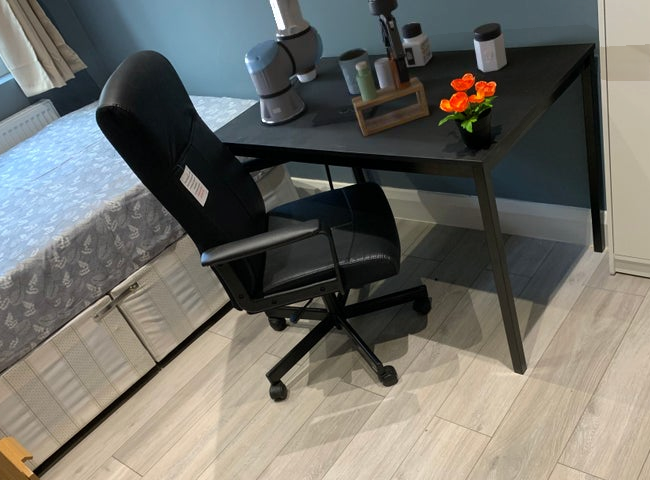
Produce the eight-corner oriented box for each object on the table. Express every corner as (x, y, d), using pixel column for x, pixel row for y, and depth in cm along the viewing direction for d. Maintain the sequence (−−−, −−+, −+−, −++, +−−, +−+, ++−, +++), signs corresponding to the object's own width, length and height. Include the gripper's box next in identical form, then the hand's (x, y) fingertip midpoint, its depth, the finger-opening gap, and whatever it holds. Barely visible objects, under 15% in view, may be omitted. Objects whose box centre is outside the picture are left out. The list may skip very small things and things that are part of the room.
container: (424, 65, 215) (416, 27, 207) (404, 67, 219) (395, 30, 211) (432, 56, 220) (424, 18, 212) (412, 58, 223) (404, 21, 216)
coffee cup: (296, 77, 243) (285, 46, 236) (323, 70, 241) (313, 38, 234) (292, 87, 235) (281, 56, 227) (320, 80, 232) (310, 48, 225)
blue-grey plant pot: (372, 79, 218) (363, 45, 211) (379, 88, 210) (370, 52, 203) (345, 89, 218) (335, 55, 211) (350, 98, 210) (340, 63, 203)
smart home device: (370, 111, 192) (311, 121, 199) (371, 117, 193) (312, 126, 200) (376, 100, 198) (318, 109, 205) (377, 105, 199) (320, 114, 206)
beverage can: (397, 99, 199) (387, 62, 191) (382, 101, 200) (372, 65, 193) (399, 92, 202) (390, 56, 195) (385, 95, 204) (375, 59, 196)
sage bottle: (361, 97, 183) (352, 64, 177) (376, 92, 183) (366, 58, 177) (364, 102, 180) (354, 68, 174) (378, 97, 179) (369, 63, 173)
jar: (476, 74, 197) (470, 35, 190) (480, 63, 203) (474, 26, 195) (505, 69, 193) (500, 30, 186) (508, 59, 199) (503, 20, 192)
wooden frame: (359, 126, 190) (351, 98, 185) (422, 105, 190) (416, 76, 184) (364, 136, 184) (355, 107, 178) (429, 114, 183) (422, 85, 178)
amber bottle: (393, 86, 183) (383, 45, 176) (408, 81, 183) (399, 40, 176) (397, 91, 179) (386, 49, 172) (412, 86, 179) (402, 44, 172)
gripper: (404, 0, 156) (423, 83, 169) (385, -18, 175) (403, 59, 188) (375, 9, 156) (396, 92, 170) (360, -9, 176) (380, 67, 189)
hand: (400, 75), depth 179 cm, fingers open, 12 cm apart
